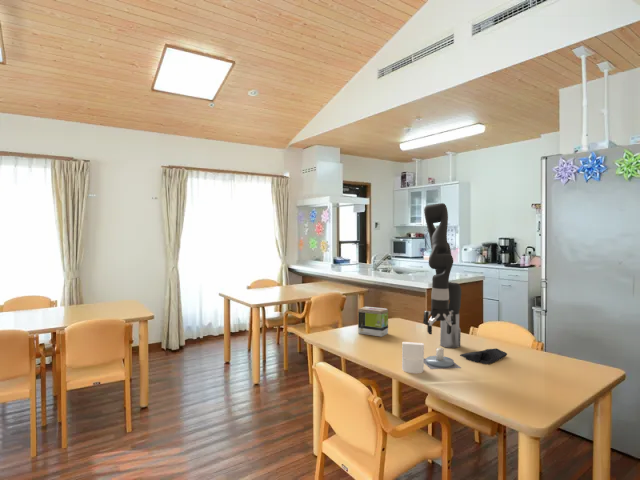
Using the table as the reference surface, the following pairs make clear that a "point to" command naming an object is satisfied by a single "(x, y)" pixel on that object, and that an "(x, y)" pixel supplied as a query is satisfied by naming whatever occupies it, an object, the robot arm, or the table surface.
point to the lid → (440, 359)
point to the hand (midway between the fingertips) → (439, 333)
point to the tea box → (373, 321)
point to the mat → (439, 367)
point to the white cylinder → (412, 357)
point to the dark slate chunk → (485, 356)
